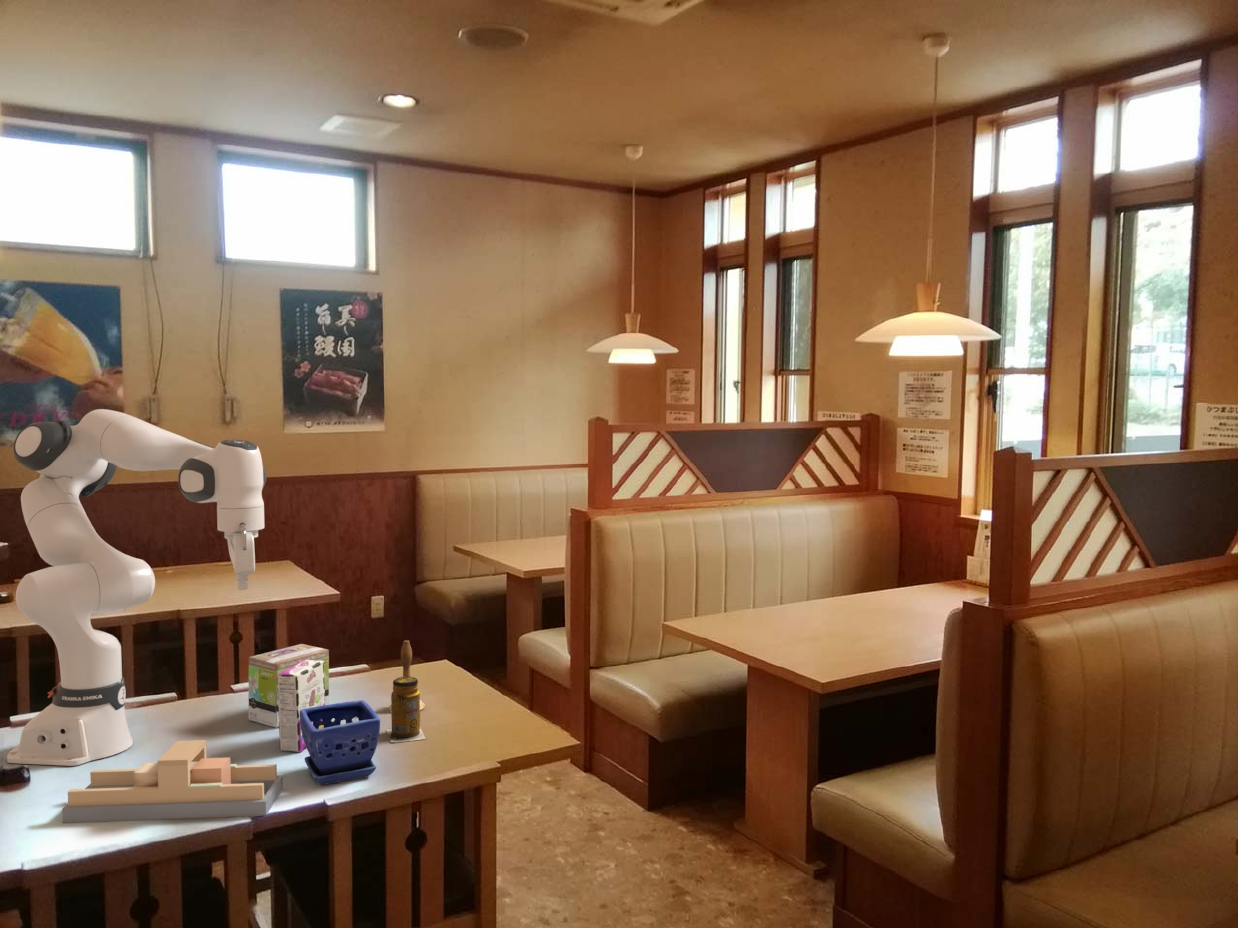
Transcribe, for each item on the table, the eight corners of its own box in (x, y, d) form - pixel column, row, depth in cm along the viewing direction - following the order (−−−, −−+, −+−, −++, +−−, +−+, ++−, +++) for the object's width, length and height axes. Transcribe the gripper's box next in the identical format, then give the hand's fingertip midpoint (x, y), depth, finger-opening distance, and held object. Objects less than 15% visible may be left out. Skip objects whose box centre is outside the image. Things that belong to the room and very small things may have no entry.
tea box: (277, 729, 209) (275, 663, 208) (247, 720, 214) (246, 656, 213) (330, 710, 222) (329, 647, 221) (301, 702, 227) (300, 641, 226)
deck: (62, 822, 163) (60, 765, 162) (93, 794, 175) (91, 741, 174) (266, 815, 166) (264, 759, 166) (283, 787, 178) (281, 735, 177)
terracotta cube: (192, 796, 168) (191, 768, 168) (202, 784, 173) (201, 758, 173) (221, 795, 168) (221, 768, 168) (230, 784, 173) (230, 757, 173)
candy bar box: (305, 732, 207) (304, 658, 206) (327, 734, 206) (325, 659, 205) (277, 751, 196) (275, 673, 195) (299, 753, 195) (298, 674, 194)
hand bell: (385, 705, 226) (384, 638, 224) (420, 700, 229) (419, 635, 228) (392, 715, 218) (392, 647, 217) (428, 710, 222) (428, 643, 220)
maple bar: (134, 797, 167) (133, 772, 167) (144, 787, 172) (144, 762, 171) (193, 795, 168) (192, 771, 168) (202, 785, 173) (201, 761, 172)
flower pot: (383, 778, 183) (382, 717, 182) (312, 792, 176) (311, 729, 175) (365, 755, 194) (364, 698, 193) (298, 767, 188) (296, 708, 187)
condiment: (419, 726, 211) (419, 673, 210) (425, 739, 203) (425, 684, 202) (386, 730, 209) (385, 676, 208) (390, 743, 201) (390, 688, 200)
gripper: (261, 526, 183) (263, 597, 184) (254, 514, 202) (255, 578, 203) (226, 528, 181) (228, 599, 182) (221, 515, 199) (223, 581, 200)
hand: (242, 588), depth 193 cm, fingers closed
